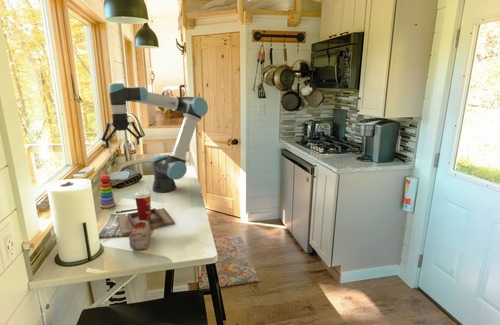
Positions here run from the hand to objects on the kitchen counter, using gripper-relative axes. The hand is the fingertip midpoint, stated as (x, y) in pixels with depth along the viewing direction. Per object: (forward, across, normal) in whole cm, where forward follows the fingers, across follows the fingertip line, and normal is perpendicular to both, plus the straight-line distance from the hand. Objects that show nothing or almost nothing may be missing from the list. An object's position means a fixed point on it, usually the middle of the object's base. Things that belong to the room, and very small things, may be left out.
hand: (123, 152), depth 165 cm
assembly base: (+32, -3, +27) cm, 42 cm away
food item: (+32, +3, +49) cm, 58 cm away
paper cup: (+30, -3, +27) cm, 41 cm away
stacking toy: (+32, +11, -7) cm, 34 cm away
